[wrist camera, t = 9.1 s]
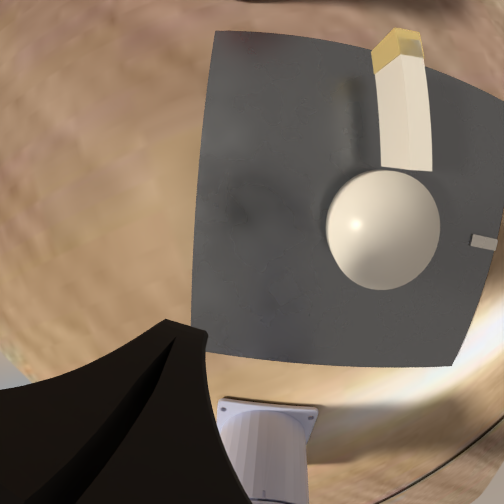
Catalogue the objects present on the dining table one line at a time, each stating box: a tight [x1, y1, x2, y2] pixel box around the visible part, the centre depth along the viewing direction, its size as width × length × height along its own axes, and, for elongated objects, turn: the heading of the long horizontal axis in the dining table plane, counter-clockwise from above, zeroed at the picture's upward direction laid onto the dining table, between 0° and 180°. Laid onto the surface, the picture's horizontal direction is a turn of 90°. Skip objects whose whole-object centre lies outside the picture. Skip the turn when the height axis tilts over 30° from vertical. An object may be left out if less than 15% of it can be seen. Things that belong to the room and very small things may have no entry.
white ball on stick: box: [326, 28, 440, 290], centre depth 12 cm, size 12×6×5 cm, turn 3°
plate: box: [191, 31, 504, 367], centre depth 16 cm, size 20×20×2 cm
